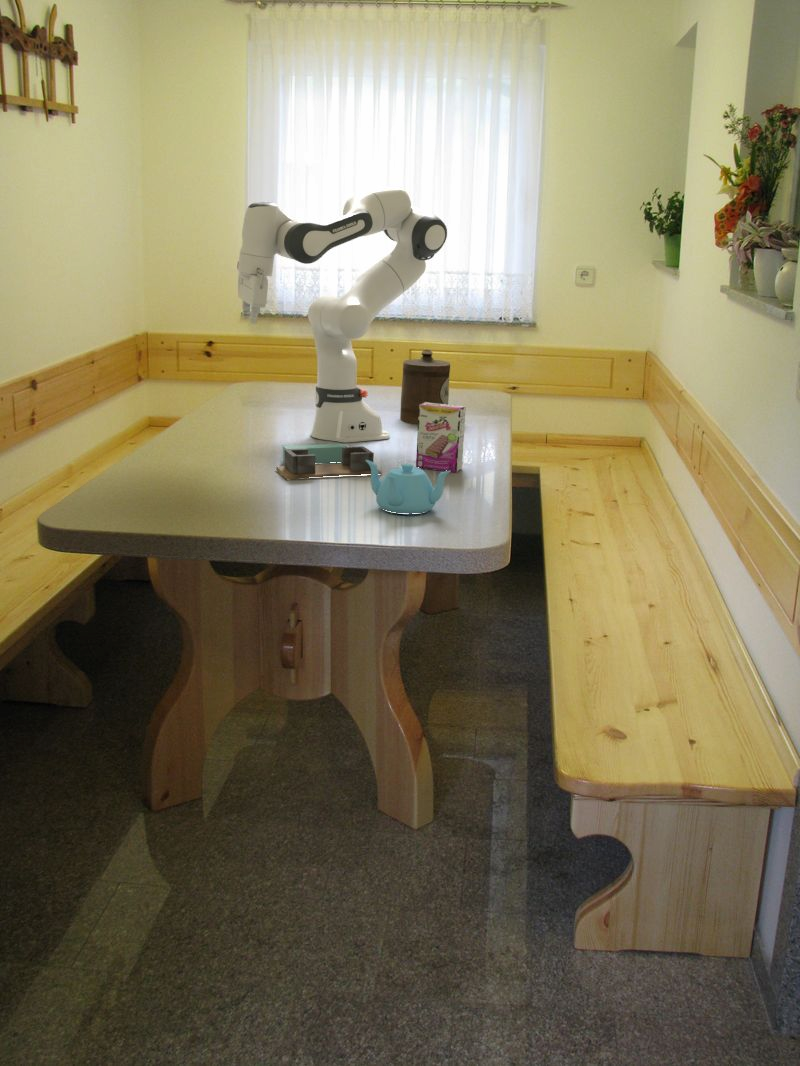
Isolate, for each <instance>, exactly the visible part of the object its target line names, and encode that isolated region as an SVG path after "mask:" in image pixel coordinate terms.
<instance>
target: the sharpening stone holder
mask: <svg viewBox="0 0 800 1066" xmlns="http://www.w3.org/2000/svg"><path fill="white" fill-rule="evenodd" d="M374 455H375V454H374V452H373V451H372V450H370V449H368V448H367V447H365V446H363V445H361V446H347V447H342V463H336V464H315V462H316V455H314V454H311V455H308V449H285V458H284V463H283V464H284V466H282V465H281V466H276V470H277V471H278V472H279V473H280V474H281V475H280V476H281V477H283V476H284V477H285V478H286V479H299V478H309V477H323V476H339V475H361V474H371V468H370V465H369V464H368V463H367V462H366V460H369V461H372V462H373V463H374V459H375V458H374ZM277 471H276V472H277ZM278 472H277V473H278ZM279 473H278V474H279ZM378 474H381V475H382V470H380V469H378ZM284 477H283V478H284ZM285 478H284V479H285ZM286 479H285V480H286ZM299 480H300V479H299Z"/></svg>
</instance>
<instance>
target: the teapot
mask: <svg viewBox="0 0 800 1066" xmlns="http://www.w3.org/2000/svg"><path fill="white" fill-rule="evenodd" d="M366 462H367V463H368V464H369V465H370V468H371V476H370V486H371V490H372V492H373V493H374V494H375V495H376V499H375V500H376V504H377V505H378V506H379V508H380V507H381V508H382V509H384V510H387V511H391V512H396V513H409V514H412V513H423V512H427V511H429V510H430V511H431V510H433V508H434V506H435V505H436V504H437V502H438V501H440V499H441V498H442V496H443V492H444V481H445V477H447V475H448V474H450V473H452V472H451V471H440V473H439V474H438V475H437V479H436V485H435V487H433V484H432V482H431V480H430V478H429V477H428V474H427V473H426V471H424V469H423V468H418V467H416V466H415V467H414V464H413V463H410V462H408V463H407V462H404V463H401V464H400V465H401V467H396V468H392V469H390V470H389V471H388V472H387V473H386V475H385V476H384V478H383V479H382V480H381V479H380V476H379V475H378V470H379V469H378V466H377V465H376V463H375V462H374V461H373V462H372V461H369V460H366ZM381 508H380V509H381ZM382 509H381V510H382ZM430 511H429V512H430ZM427 513H428V512H427Z"/></svg>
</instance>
